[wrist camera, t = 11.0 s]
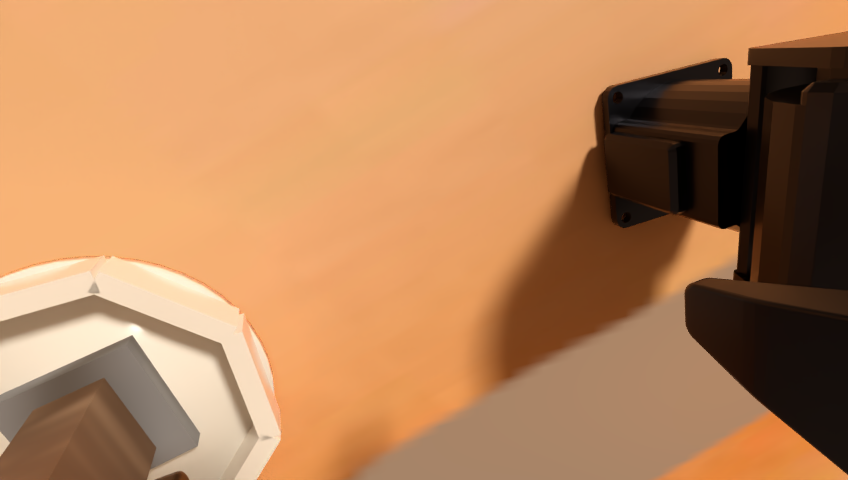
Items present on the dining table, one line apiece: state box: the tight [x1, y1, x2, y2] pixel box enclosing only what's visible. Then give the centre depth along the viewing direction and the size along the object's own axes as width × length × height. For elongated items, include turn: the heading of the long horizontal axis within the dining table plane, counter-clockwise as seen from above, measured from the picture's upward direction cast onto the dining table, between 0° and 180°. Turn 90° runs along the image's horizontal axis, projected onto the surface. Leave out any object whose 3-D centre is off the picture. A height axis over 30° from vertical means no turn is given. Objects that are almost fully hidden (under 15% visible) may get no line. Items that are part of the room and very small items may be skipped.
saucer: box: [0, 255, 281, 480], centre depth 19 cm, size 12×12×2 cm
